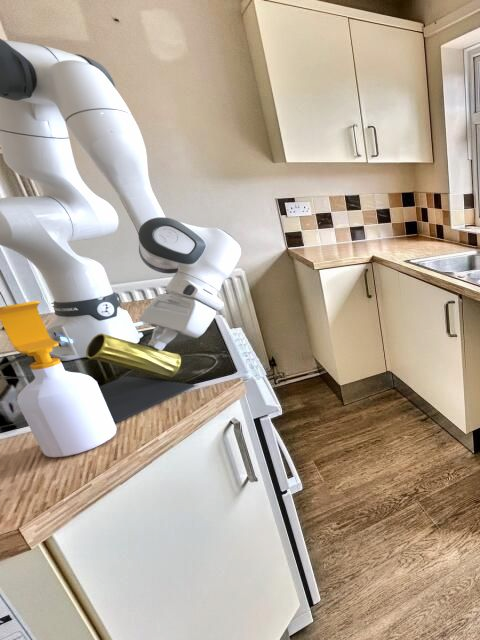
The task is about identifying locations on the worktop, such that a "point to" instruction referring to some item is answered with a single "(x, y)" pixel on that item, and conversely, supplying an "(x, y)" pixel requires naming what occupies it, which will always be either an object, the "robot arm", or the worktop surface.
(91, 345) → the vase
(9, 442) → the worktop surface
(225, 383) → the worktop surface
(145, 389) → the mat
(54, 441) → the soap bottle
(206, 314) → the robot arm
